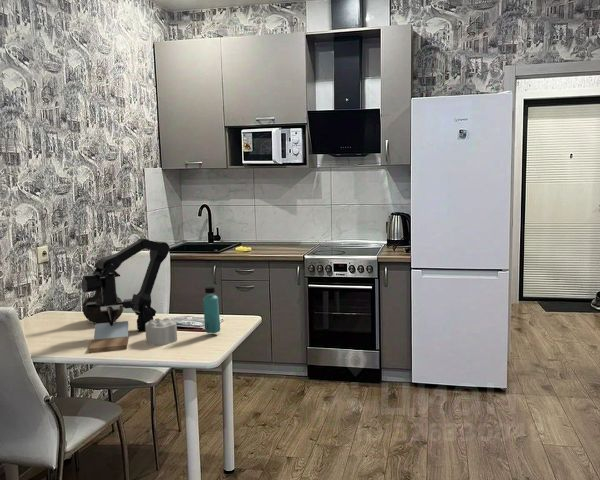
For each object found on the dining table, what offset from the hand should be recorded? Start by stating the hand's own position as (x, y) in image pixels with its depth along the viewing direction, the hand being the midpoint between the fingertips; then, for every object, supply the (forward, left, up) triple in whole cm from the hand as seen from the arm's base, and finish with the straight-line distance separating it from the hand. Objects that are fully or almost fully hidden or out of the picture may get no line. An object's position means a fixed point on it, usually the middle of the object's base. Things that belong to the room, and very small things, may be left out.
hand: (111, 325), depth 240 cm
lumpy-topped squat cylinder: (-19, +12, -5) cm, 23 cm away
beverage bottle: (-40, +11, -5) cm, 42 cm away
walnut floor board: (0, +13, -5) cm, 14 cm away
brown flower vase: (+6, -30, -5) cm, 31 cm away
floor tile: (0, +2, -3) cm, 3 cm away
